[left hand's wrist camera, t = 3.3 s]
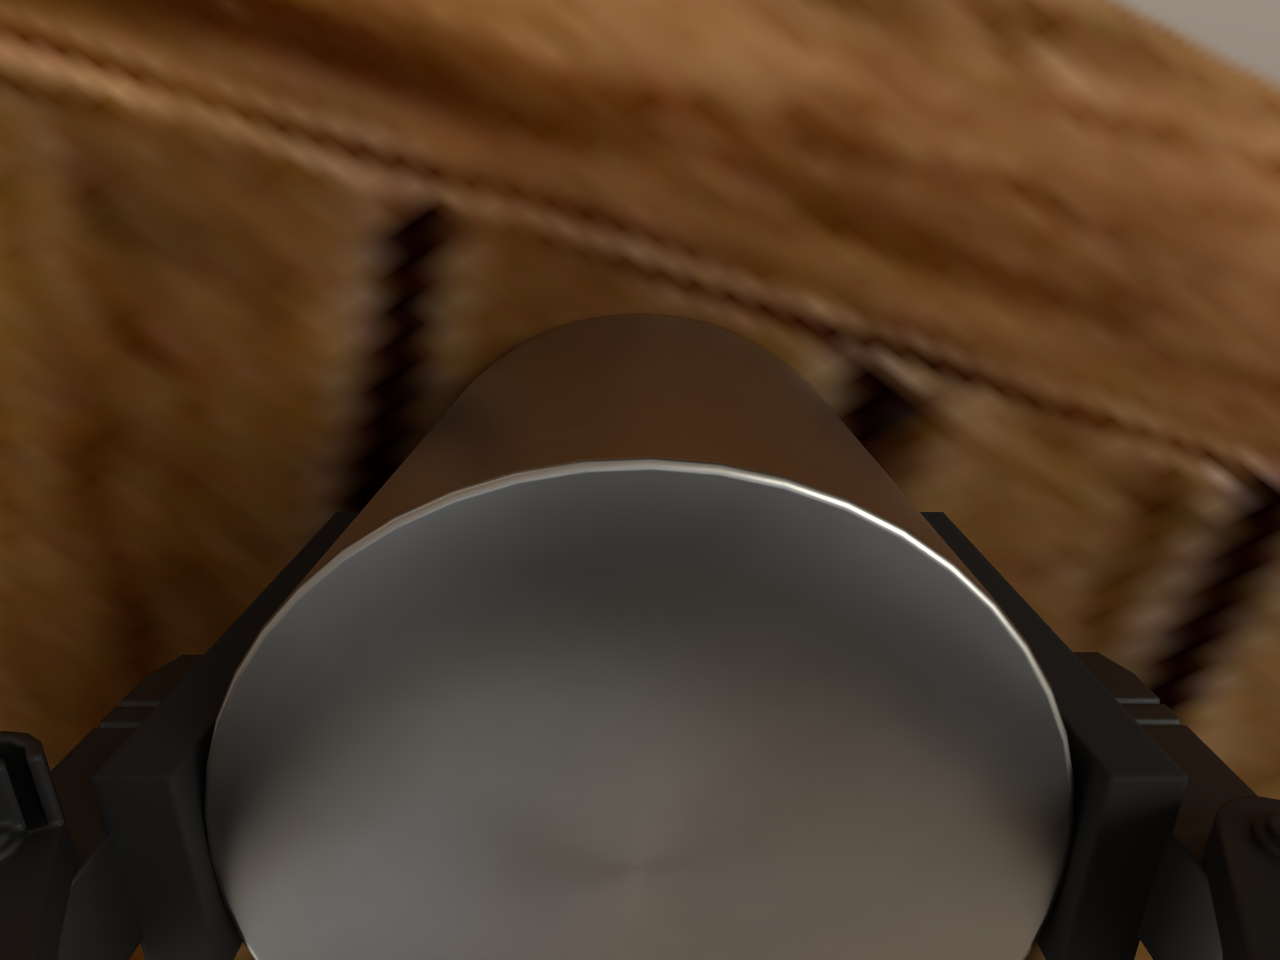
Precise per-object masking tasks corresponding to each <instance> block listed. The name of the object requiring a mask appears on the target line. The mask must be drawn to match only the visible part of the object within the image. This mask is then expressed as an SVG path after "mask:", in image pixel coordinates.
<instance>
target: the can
mask: <svg viewBox="0 0 1280 960" xmlns="http://www.w3.org/2000/svg"><path fill="white" fill-rule="evenodd" d="M205 821H206V828H207V836H208V844H209V851H210V858H211V862H212V865H213V868H214V872H215V875H216V878H217V882H218V885H219V888H220V891H221V895H222V898H223V901H224V903H225V905H226V907H227V909H228V911H229V913H230V916H231V918H232V920H233V922H234V924H235V926H236V928H237V930H238V932H239V934H240V936H241V939H242V940H243V942H244V943H245V945H246V946H247V948H248V949H249V951H250V952H251V954H252V955H253V957H254V958H255V960H1024V959H1025V958H1026V957H1027V955H1028V954H1029V952H1030V950H1031V949H1032V947H1033V945H1034V943H1035V941H1036V939H1037V938H1038V936H1039V934H1040V932H1041V930H1042V928H1043V927H1044V925H1045V923H1046V921H1047V919H1048V917H1049V915H1050V913H1051V911H1052V908H1053V905H1054V902H1055V900H1056V897H1057V894H1058V891H1059V888H1060V886H1061V883H1062V880H1063V877H1064V875H1065V871H1066V866H1067V860H1068V855H1069V850H1070V845H1071V839H1072V834H1073V826H1074V777H1073V771H1072V764H1071V758H1070V751H1069V744H1068V738H1067V732H1066V729H1065V726H1064V723H1063V720H1062V717H1061V714H1060V711H1059V708H1058V705H1057V702H1056V699H1055V696H1054V693H1053V690H1052V687H1051V685H1050V683H1049V681H1048V680H1047V678H1046V676H1045V674H1044V672H1043V670H1042V668H1041V667H1040V665H1039V663H1038V661H1037V659H1036V657H1035V655H1034V654H1033V652H1032V650H1031V648H1030V646H1029V644H1028V642H1027V641H1026V640H1025V638H1024V637H1023V636H1022V634H1021V633H1020V632H1019V631H1018V629H1017V628H1016V627H1015V625H1014V624H1013V623H1012V621H1011V620H1010V619H1009V618H1008V616H1007V615H1006V614H1005V612H1004V611H1003V610H1002V608H1001V607H1000V606H999V605H998V603H997V602H996V601H995V599H994V598H993V597H992V596H991V595H990V594H989V592H988V591H987V590H986V589H985V588H984V587H983V585H982V584H981V583H980V582H979V581H978V580H977V578H976V577H975V576H974V575H973V574H972V573H971V571H970V570H969V569H968V568H967V567H966V566H965V564H964V563H963V562H962V561H961V560H960V559H959V557H958V556H957V555H956V554H955V553H954V552H953V550H952V549H951V548H950V547H949V546H948V545H947V543H946V542H945V541H944V540H943V539H942V538H941V536H940V535H939V534H938V533H937V532H936V531H935V529H934V528H933V527H932V526H931V525H930V524H929V522H928V521H927V520H926V519H925V518H924V517H923V515H922V514H921V513H920V512H919V511H918V510H917V508H916V507H915V506H914V505H913V504H912V503H911V501H910V500H909V499H908V498H907V497H906V496H905V494H904V493H903V492H902V491H901V490H900V489H899V487H898V486H897V485H896V484H895V483H894V482H893V480H892V479H891V478H890V477H889V476H888V475H887V473H886V472H885V471H884V470H883V469H882V468H881V466H880V465H879V464H878V463H877V462H876V461H875V459H874V458H873V457H872V456H871V455H870V454H869V452H868V451H867V450H866V449H865V448H864V447H863V445H862V444H861V443H860V442H859V441H858V440H857V438H856V437H855V436H854V435H853V434H852V433H851V431H850V430H849V429H848V428H847V427H846V426H845V424H844V423H843V422H842V421H841V420H840V419H839V417H838V416H837V415H836V414H835V413H834V412H833V410H832V409H831V408H830V407H829V406H828V405H827V403H826V402H825V401H824V400H823V399H822V398H821V396H820V395H819V394H818V393H817V392H816V391H815V389H814V388H813V387H812V386H811V385H810V384H809V383H807V382H806V381H805V380H804V379H803V378H802V377H801V376H800V375H799V374H798V373H797V372H796V371H795V370H794V369H793V368H792V367H790V366H789V365H788V364H786V363H785V362H784V361H782V360H781V359H779V358H778V357H777V356H775V355H774V354H773V353H771V352H770V351H768V350H767V349H765V348H763V347H761V346H759V345H758V344H756V343H754V342H752V341H750V340H748V339H746V338H745V337H743V336H741V335H739V334H736V333H733V332H731V331H728V330H725V329H722V328H720V327H717V326H714V325H712V324H709V323H704V322H700V321H695V320H691V319H687V318H682V317H678V316H666V315H655V314H625V315H610V316H605V317H599V318H593V319H588V320H582V321H578V322H575V323H572V324H569V325H566V326H563V327H560V328H556V329H553V330H550V331H548V332H546V333H544V334H542V335H540V336H538V337H535V338H533V339H531V340H529V341H527V342H525V343H523V344H521V345H519V346H518V347H516V348H515V349H513V350H512V351H510V352H509V353H507V354H506V355H504V356H503V357H501V358H500V359H498V360H497V361H495V362H494V363H493V364H492V365H491V366H489V367H488V368H487V369H486V370H485V371H484V372H483V373H481V374H480V375H479V376H478V377H477V378H476V379H475V380H473V381H472V382H471V384H470V385H469V386H468V387H467V388H466V389H465V391H464V392H463V393H462V394H461V395H460V396H459V398H458V399H457V400H456V401H455V402H454V403H453V405H452V406H451V407H450V408H449V409H448V410H447V412H446V413H445V414H444V415H443V416H442V417H441V419H440V420H439V421H438V422H437V423H436V424H435V426H434V427H433V428H432V429H431V430H430V431H429V433H428V434H427V435H426V436H425V437H424V438H423V440H422V441H421V442H420V443H419V444H418V445H417V447H416V448H415V449H414V450H413V451H412V452H411V454H410V455H409V456H408V457H407V458H406V459H405V461H404V462H403V463H402V464H401V465H400V467H399V468H398V469H397V470H396V471H395V472H394V474H393V475H392V476H391V477H390V478H389V479H388V481H387V482H386V483H385V484H384V485H383V486H382V488H381V489H380V490H379V491H378V492H377V493H376V495H375V496H374V497H373V498H372V499H371V500H370V502H369V503H368V504H367V505H366V506H365V507H364V509H363V510H362V511H361V512H360V513H359V514H358V516H357V517H356V518H355V519H354V520H353V521H352V523H351V524H350V525H349V526H348V527H347V528H346V530H345V531H344V532H343V533H342V534H341V535H340V537H339V538H338V539H337V540H336V541H335V542H334V544H333V545H332V546H331V547H330V548H329V550H328V551H327V552H326V553H325V554H324V555H323V557H322V558H321V559H320V560H319V561H318V562H317V564H316V565H315V566H314V567H313V568H312V569H311V571H310V572H309V573H308V574H307V575H306V576H305V578H304V579H303V580H302V581H301V582H300V583H299V585H298V586H297V587H296V588H295V589H294V590H293V592H292V593H291V594H290V595H289V596H288V597H287V599H286V600H285V601H284V602H283V603H282V604H281V606H280V607H279V608H278V609H277V610H276V611H275V613H274V614H273V615H272V616H271V617H270V618H269V620H268V621H267V622H266V623H265V624H264V626H263V627H262V628H261V630H260V631H259V633H258V635H257V636H256V638H255V640H254V641H253V643H252V645H251V646H250V648H249V649H248V651H247V653H246V654H245V656H244V658H243V659H242V661H241V662H240V664H239V666H238V667H237V669H236V671H235V673H234V675H233V678H232V680H231V683H230V685H229V688H228V690H227V693H226V695H225V698H224V700H223V703H222V705H221V708H220V710H219V713H218V715H217V718H216V723H215V728H214V732H213V737H212V742H211V746H210V751H209V756H208V760H207V767H206V790H205Z"/></svg>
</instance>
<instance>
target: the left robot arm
mask: <svg viewBox="0 0 1280 960" xmlns="http://www.w3.org/2000/svg"><path fill="white" fill-rule="evenodd" d="M359 513H360V512H336V513H335V514H334V515H333V517H332V518H331V519H330V520H329V521H328V522H327V523H326V524H325V525H324V526H323V527H322V528H321V530H320V531H319V532H318V533H317V534H316V535H315V536H314V537H313V538H312V539H311V540H310V541H309V542H308V544H307V545H306V546H305V547H304V548H303V549H302V550H301V551H300V552H299V553H298V554H297V555H296V557H295V558H294V559H293V560H292V561H291V562H290V563H289V564H288V565H287V566H286V567H285V568H284V569H283V571H282V572H281V573H280V574H279V575H278V576H277V577H276V578H275V579H274V580H273V581H272V582H271V584H270V585H269V586H268V587H267V588H266V589H265V590H264V591H263V592H262V593H261V594H260V595H259V596H258V598H257V599H256V600H255V601H254V602H253V603H252V604H251V605H250V606H249V607H248V608H247V609H246V611H245V612H244V613H243V614H242V615H241V616H240V617H239V618H238V619H237V620H236V621H235V622H234V623H233V625H232V626H231V627H230V628H229V629H228V630H227V631H226V632H225V633H224V634H223V635H222V636H221V638H220V639H219V640H218V641H217V642H216V643H215V644H214V645H213V646H212V647H211V648H210V649H209V650H208V652H207V653H206V654H205V655H182V656H180V657H178V658H177V659H175V660H173V661H171V662H170V663H168V664H166V665H165V666H163V667H161V668H160V669H158V670H156V671H155V672H153V673H151V674H150V675H148V676H146V677H145V678H144V679H143V680H142V681H141V682H140V683H139V684H138V685H137V686H136V687H135V688H134V689H133V690H132V691H131V692H130V693H129V694H128V695H127V696H126V697H125V698H124V699H123V700H122V701H121V705H120V707H115V708H114V709H113V710H112V711H111V712H110V713H109V714H108V715H107V716H106V717H105V718H104V719H103V720H102V721H101V722H100V723H99V728H94V729H93V730H92V731H91V732H90V733H89V734H88V735H87V736H86V737H85V738H84V739H83V740H82V741H81V742H80V743H79V744H78V745H77V746H76V747H75V748H74V749H73V750H72V751H71V752H70V753H69V754H68V755H67V756H66V757H65V758H64V759H63V760H62V761H61V762H60V763H59V764H58V765H57V766H56V767H55V768H54V769H53V770H52V771H51V772H50V769H49V766H48V762H47V759H46V756H45V753H44V750H43V747H42V744H41V741H39V740H37V739H36V738H34V737H33V736H31V735H29V734H28V733H20V732H8V731H2V732H0V960H129V959H130V957H131V955H132V954H133V952H134V951H135V949H136V948H137V946H138V945H139V943H141V946H142V950H143V953H144V956H145V960H234V958H235V956H236V954H237V952H238V950H239V948H240V946H241V944H242V942H243V940H242V939H241V936H240V934H239V932H238V930H237V928H236V926H235V924H234V922H233V920H232V918H231V916H230V913H229V911H228V909H227V907H226V905H225V903H224V901H223V898H222V895H221V891H220V888H219V885H218V882H217V878H216V875H215V872H214V868H213V865H212V862H211V858H210V851H209V844H208V836H207V828H206V821H205V790H206V767H207V760H208V756H209V751H210V746H211V742H212V737H213V732H214V728H215V723H216V718H217V715H218V713H219V710H220V708H221V705H222V703H223V700H224V698H225V695H226V693H227V690H228V688H229V685H230V683H231V680H232V678H233V675H234V673H235V671H236V669H237V667H238V666H239V664H240V662H241V661H242V659H243V658H244V656H245V654H246V653H247V651H248V649H249V648H250V646H251V645H252V643H253V641H254V640H255V638H256V636H257V635H258V633H259V631H260V630H261V628H262V627H263V626H264V624H265V623H266V622H267V621H268V620H269V618H270V617H271V616H272V615H273V614H274V613H275V611H276V610H277V609H278V608H279V607H280V606H281V604H282V603H283V602H284V601H285V600H286V599H287V597H288V596H289V595H290V594H291V593H292V592H293V590H294V589H295V588H296V587H297V586H298V585H299V583H300V582H301V581H302V580H303V579H304V578H305V576H306V575H307V574H308V573H309V572H310V571H311V569H312V568H313V567H314V566H315V565H316V564H317V562H318V561H319V560H320V559H321V558H322V557H323V555H324V554H325V553H326V552H327V551H328V550H329V548H330V547H331V546H332V545H333V544H334V542H335V541H336V540H337V539H338V538H339V537H340V535H341V534H342V533H343V532H344V531H345V530H346V528H347V527H348V526H349V525H350V524H351V523H352V521H353V520H354V519H355V518H356V517H357V516H358V514H359ZM920 513H921V514H922V515H923V517H924V518H925V519H926V520H927V521H928V522H929V524H930V525H931V526H932V527H933V528H934V529H935V531H936V532H937V533H938V534H939V535H940V536H941V538H942V539H943V540H944V541H945V542H946V543H947V545H948V546H949V547H950V548H951V549H952V550H953V552H954V553H955V554H956V555H957V556H958V557H959V559H960V560H961V561H962V562H963V563H964V564H965V566H966V567H967V568H968V569H969V570H970V571H971V573H972V574H973V575H974V576H975V577H976V578H977V580H978V581H979V582H980V583H981V584H982V585H983V587H984V588H985V589H986V590H987V591H988V592H989V594H990V595H991V596H992V597H993V598H994V599H995V601H996V602H997V603H998V605H999V606H1000V607H1001V608H1002V610H1003V611H1004V612H1005V614H1006V615H1007V616H1008V618H1009V619H1010V620H1011V621H1012V623H1013V624H1014V625H1015V627H1016V628H1017V629H1018V631H1019V632H1020V633H1021V634H1022V636H1023V637H1024V638H1025V640H1026V641H1027V642H1028V644H1029V646H1030V648H1031V650H1032V652H1033V654H1034V655H1035V657H1036V659H1037V661H1038V663H1039V665H1040V667H1041V668H1042V670H1043V672H1044V674H1045V676H1046V678H1047V680H1048V681H1049V683H1050V685H1051V687H1052V690H1053V693H1054V696H1055V699H1056V702H1057V705H1058V708H1059V711H1060V714H1061V717H1062V720H1063V723H1064V726H1065V729H1066V732H1067V738H1068V744H1069V751H1070V758H1071V764H1072V771H1073V777H1074V826H1073V834H1072V839H1071V845H1070V850H1069V855H1068V860H1067V866H1066V871H1065V875H1064V877H1063V880H1062V883H1061V886H1060V888H1059V891H1058V894H1057V897H1056V900H1055V902H1054V905H1053V908H1052V911H1051V913H1050V915H1049V917H1048V919H1047V921H1046V923H1045V925H1044V927H1043V928H1042V930H1041V932H1040V934H1039V936H1038V938H1037V939H1036V941H1037V943H1038V945H1039V947H1040V949H1041V951H1042V953H1043V955H1044V957H1045V959H1046V960H1134V958H1135V954H1136V951H1137V948H1138V944H1139V941H1140V940H1141V941H1142V943H1143V945H1144V946H1145V948H1146V949H1147V951H1148V952H1149V954H1150V955H1151V957H1152V958H1153V960H1280V800H1277V799H1271V798H1265V797H1259V796H1257V795H1256V794H1255V793H1254V792H1253V791H1252V790H1251V789H1250V788H1249V787H1248V786H1247V785H1246V784H1245V783H1244V782H1243V781H1242V780H1241V779H1240V778H1239V777H1238V776H1237V775H1236V774H1235V773H1234V772H1233V771H1232V770H1231V769H1230V768H1229V767H1228V766H1227V765H1226V764H1225V763H1224V762H1223V761H1222V760H1221V759H1220V758H1219V757H1218V756H1217V755H1216V754H1215V753H1214V752H1213V751H1212V750H1211V749H1210V748H1209V747H1208V746H1206V745H1205V744H1204V743H1203V742H1202V741H1201V740H1200V739H1199V738H1198V737H1197V736H1196V735H1195V734H1194V733H1193V732H1192V731H1191V730H1190V729H1189V728H1188V727H1187V726H1182V725H1181V720H1180V719H1179V718H1178V717H1177V716H1176V715H1175V714H1174V713H1173V712H1172V711H1171V710H1170V709H1169V708H1168V707H1167V706H1166V705H1165V704H1160V701H1159V700H1160V699H1159V698H1158V697H1157V696H1156V695H1155V694H1154V693H1153V692H1152V691H1151V690H1150V689H1149V688H1148V687H1147V686H1146V685H1145V684H1144V683H1143V682H1142V681H1141V680H1140V679H1139V678H1138V677H1137V676H1136V675H1135V674H1133V673H1132V672H1130V671H1128V670H1127V669H1125V668H1123V667H1122V666H1120V665H1118V664H1116V663H1115V662H1113V661H1111V660H1110V659H1108V658H1106V657H1105V656H1103V655H1101V654H1099V653H1098V652H1072V651H1071V650H1070V649H1069V648H1068V647H1067V646H1066V645H1065V643H1064V642H1063V641H1062V640H1061V639H1060V638H1059V637H1058V636H1057V635H1056V634H1055V633H1054V632H1053V631H1052V629H1051V628H1050V627H1049V626H1048V625H1047V624H1046V623H1045V622H1044V621H1043V620H1042V619H1041V618H1040V616H1039V615H1038V614H1037V613H1036V612H1035V611H1034V610H1033V609H1032V608H1031V607H1030V606H1029V605H1028V604H1027V602H1026V601H1025V600H1024V599H1023V598H1022V597H1021V596H1020V595H1019V594H1018V593H1017V592H1016V591H1015V589H1014V588H1013V587H1012V586H1011V585H1010V584H1009V583H1008V582H1007V581H1006V580H1005V579H1004V578H1003V577H1002V575H1001V574H1000V573H999V572H998V571H997V570H996V569H995V568H994V567H993V566H992V565H991V564H990V562H989V561H988V560H987V559H986V558H985V557H984V556H983V555H982V554H981V553H980V552H979V551H978V550H977V548H976V547H975V546H974V545H973V544H972V543H971V542H970V541H969V540H968V539H967V538H966V537H965V535H964V534H963V533H962V532H961V531H960V530H959V529H958V528H957V527H956V526H955V525H954V524H953V523H952V521H951V520H950V519H949V518H948V517H947V516H946V515H945V514H944V513H943V512H920Z"/></svg>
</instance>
